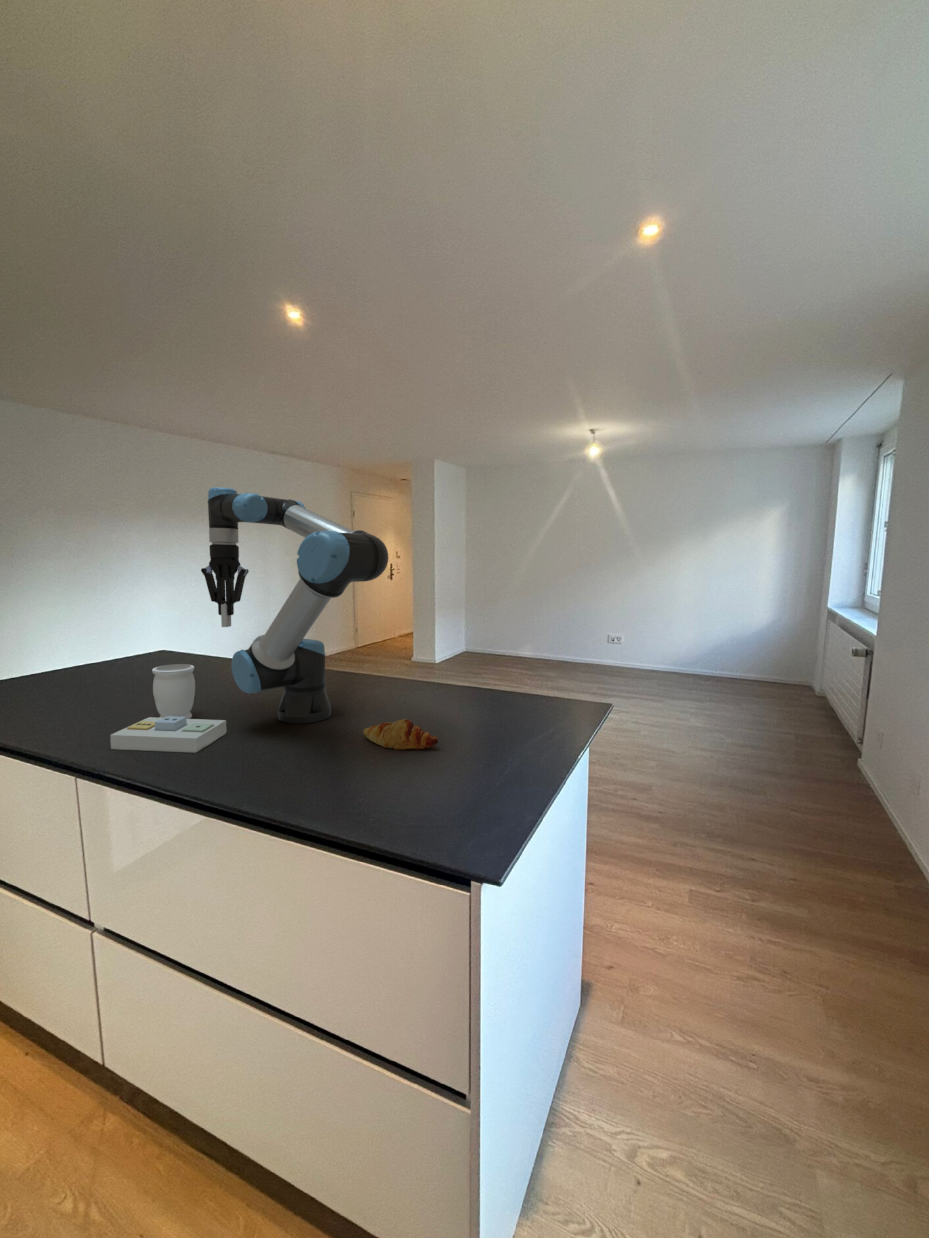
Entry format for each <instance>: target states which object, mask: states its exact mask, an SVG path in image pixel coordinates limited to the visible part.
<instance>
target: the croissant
mask: <svg viewBox="0 0 929 1238" xmlns="http://www.w3.org/2000/svg"><path fill="white" fill-rule="evenodd" d="M363 736H364V737H366V738H367V739H368V740H369V741H371V743H374V744H376V745H379V746H380V745H381V747H382V746H383V747H382V748H385V749H386V748H388V749H392V748H394V749H393V750H409V749H410V750H424V749H429V748H431V747H433V746H435V745H437V744H438V741H439V737H438V736H433V735H432V734H431V733H430V732H428V731H424V730H422V728H421V727H420V725H415V724H414V722H413V721H412V720H411V719H406V718H404V719H399V720H396V721H394V722H393V721H392V722H391V721H390V722H388V721H387V722H381V723H380V724H376V725H371V726H369V727H365V728H364V729H363ZM391 747H392V748H391Z"/></svg>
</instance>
